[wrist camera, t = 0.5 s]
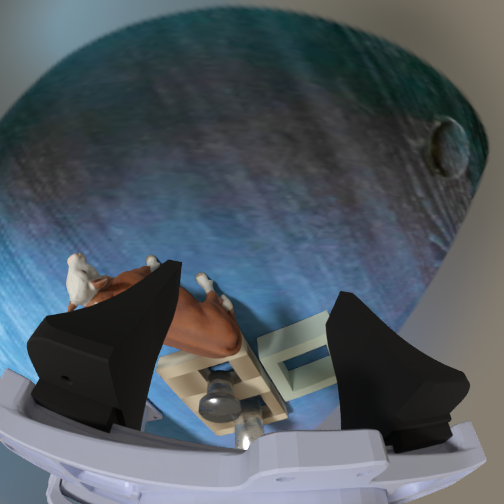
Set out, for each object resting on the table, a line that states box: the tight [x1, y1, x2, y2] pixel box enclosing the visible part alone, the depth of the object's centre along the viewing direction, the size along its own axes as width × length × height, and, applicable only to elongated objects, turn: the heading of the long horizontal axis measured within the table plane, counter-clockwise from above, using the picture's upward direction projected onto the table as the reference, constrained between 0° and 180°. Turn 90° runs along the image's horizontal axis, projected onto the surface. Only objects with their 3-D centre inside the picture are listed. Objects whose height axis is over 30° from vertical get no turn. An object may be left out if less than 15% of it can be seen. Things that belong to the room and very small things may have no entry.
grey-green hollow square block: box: [257, 310, 337, 402], centre depth 26 cm, size 7×7×3 cm
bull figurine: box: [66, 253, 242, 359], centre depth 20 cm, size 4×13×8 cm, turn 60°
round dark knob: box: [199, 370, 241, 423], centre depth 24 cm, size 4×4×4 cm
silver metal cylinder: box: [234, 395, 264, 450], centre depth 26 cm, size 3×3×8 cm
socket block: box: [156, 330, 288, 436], centre depth 28 cm, size 9×13×2 cm
